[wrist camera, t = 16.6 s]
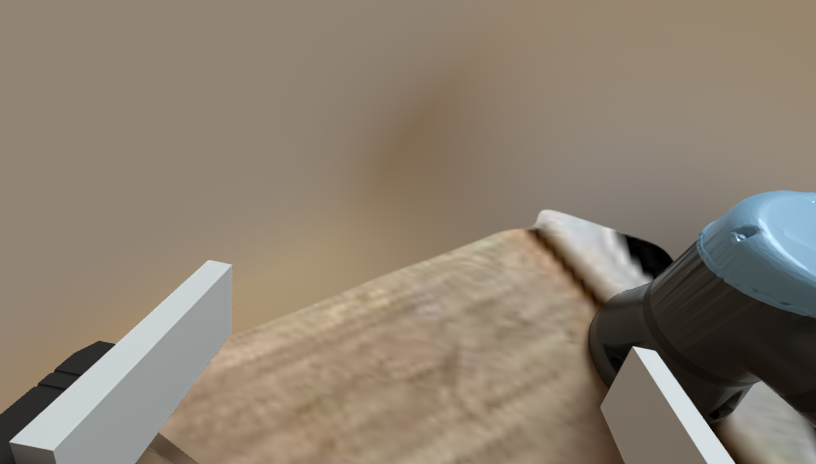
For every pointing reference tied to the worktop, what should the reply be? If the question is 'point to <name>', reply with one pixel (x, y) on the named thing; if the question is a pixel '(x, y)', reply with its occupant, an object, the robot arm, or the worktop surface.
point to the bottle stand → (163, 453)
